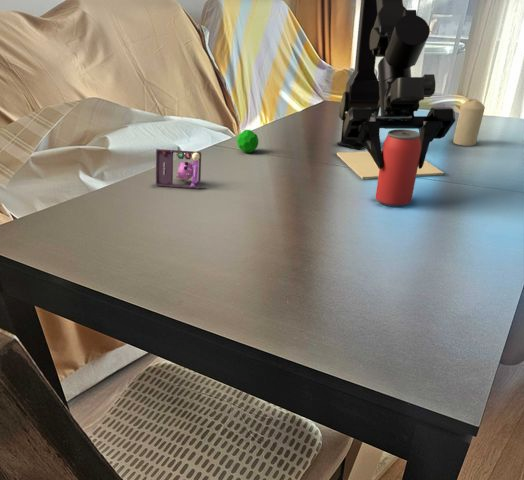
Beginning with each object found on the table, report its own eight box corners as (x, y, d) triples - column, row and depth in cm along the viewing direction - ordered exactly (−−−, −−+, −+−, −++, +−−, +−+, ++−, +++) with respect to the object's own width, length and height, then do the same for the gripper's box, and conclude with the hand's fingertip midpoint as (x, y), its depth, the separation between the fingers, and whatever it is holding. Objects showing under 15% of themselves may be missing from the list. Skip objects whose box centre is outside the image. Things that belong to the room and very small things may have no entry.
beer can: (412, 197, 96) (425, 130, 89) (409, 209, 91) (422, 139, 84) (377, 193, 98) (387, 127, 90) (372, 205, 92) (382, 135, 85)
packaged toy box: (154, 148, 97) (199, 151, 96) (164, 151, 102) (207, 153, 101) (154, 185, 99) (198, 188, 98) (164, 185, 104) (206, 189, 103)
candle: (477, 146, 125) (488, 102, 119) (454, 145, 126) (463, 101, 120) (474, 141, 129) (484, 98, 123) (451, 139, 130) (461, 97, 124)
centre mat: (336, 154, 118) (336, 152, 118) (408, 151, 121) (409, 149, 121) (362, 179, 104) (362, 176, 104) (443, 175, 107) (444, 172, 107)
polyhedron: (235, 149, 121) (234, 128, 118) (254, 148, 122) (254, 127, 120) (240, 155, 117) (240, 133, 115) (260, 153, 119) (261, 132, 116)
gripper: (353, 54, 83) (358, 142, 81) (465, 54, 84) (473, 142, 81) (341, 97, 94) (345, 176, 92) (439, 97, 95) (446, 175, 92)
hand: (400, 167), depth 89 cm, fingers open, 7 cm apart
